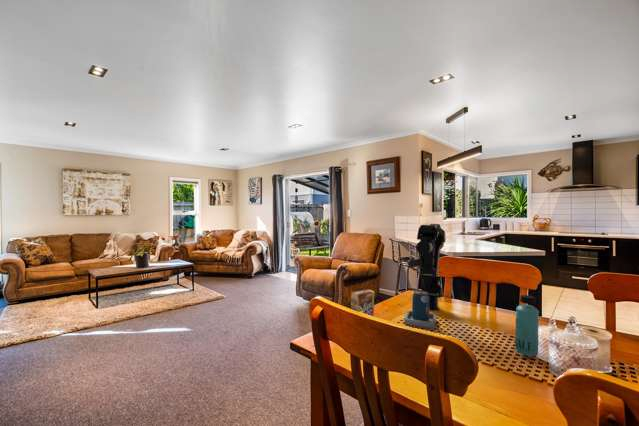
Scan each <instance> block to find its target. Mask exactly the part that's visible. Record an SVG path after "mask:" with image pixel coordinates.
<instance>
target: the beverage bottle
mask: <svg viewBox="0 0 639 426" xmlns="http://www.w3.org/2000/svg"><path fill="white" fill-rule="evenodd" d="M519 301H520V303H522V304H519V305H517V306H516V308H515V309H516V311H515V312H516V313H515V324H514V325H515V331H514V333H515V337H514V342H515V343H514V347H515V348H514V349H515V351H516V352H517V353H519V354H521V355H524V356H528V357H537V356H538V355H539V321H540V320H539V318H540V315H539V314H540V311H539V309H538V308H536V307H535V306H534V305H535V304H536V298H535V296H532V295H529V294H528V295H527V294H522V295H520V299H519Z"/></svg>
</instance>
